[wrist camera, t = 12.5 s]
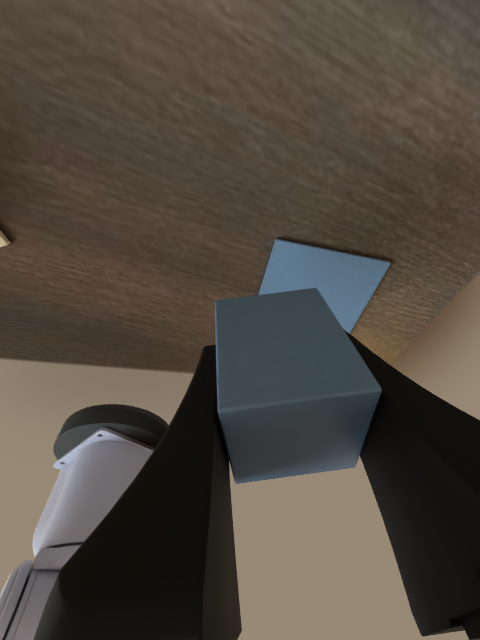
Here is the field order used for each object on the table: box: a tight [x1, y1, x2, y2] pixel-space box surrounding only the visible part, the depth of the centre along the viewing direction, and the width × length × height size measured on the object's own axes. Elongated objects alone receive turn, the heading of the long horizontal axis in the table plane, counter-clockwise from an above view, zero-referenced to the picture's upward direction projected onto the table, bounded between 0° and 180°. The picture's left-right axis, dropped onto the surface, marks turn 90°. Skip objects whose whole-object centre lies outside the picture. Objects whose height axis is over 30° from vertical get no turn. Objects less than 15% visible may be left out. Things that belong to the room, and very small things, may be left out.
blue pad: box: [258, 238, 391, 334], centre depth 19 cm, size 8×8×1 cm
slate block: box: [215, 288, 382, 484], centre depth 10 cm, size 4×4×5 cm
